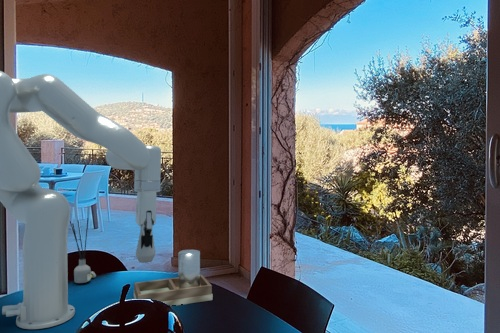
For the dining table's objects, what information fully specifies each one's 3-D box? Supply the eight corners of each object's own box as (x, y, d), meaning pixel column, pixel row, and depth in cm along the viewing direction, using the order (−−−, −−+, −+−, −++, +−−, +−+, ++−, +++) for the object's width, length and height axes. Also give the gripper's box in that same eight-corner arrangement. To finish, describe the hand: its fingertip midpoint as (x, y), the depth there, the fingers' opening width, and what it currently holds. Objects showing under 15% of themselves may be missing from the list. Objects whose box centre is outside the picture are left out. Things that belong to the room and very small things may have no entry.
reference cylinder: (181, 295, 102) (180, 256, 102) (176, 288, 107) (176, 250, 107) (202, 292, 104) (202, 253, 104) (196, 285, 110) (196, 248, 109)
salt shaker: (149, 264, 109) (150, 219, 109) (131, 262, 110) (132, 218, 110) (158, 259, 114) (159, 217, 114) (141, 258, 116) (142, 216, 116)
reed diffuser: (81, 288, 111) (80, 221, 111) (60, 287, 112) (59, 221, 112) (99, 277, 121) (99, 216, 121) (80, 276, 122) (79, 215, 122)
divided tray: (137, 311, 95) (137, 295, 95) (133, 296, 105) (133, 282, 105) (212, 299, 103) (212, 285, 103) (202, 287, 113) (202, 274, 113)
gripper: (131, 184, 118) (130, 242, 118) (137, 188, 103) (135, 254, 103) (155, 184, 121) (154, 241, 121) (164, 188, 106) (163, 253, 106)
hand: (145, 247), depth 112 cm, fingers closed on salt shaker, 3 cm apart
